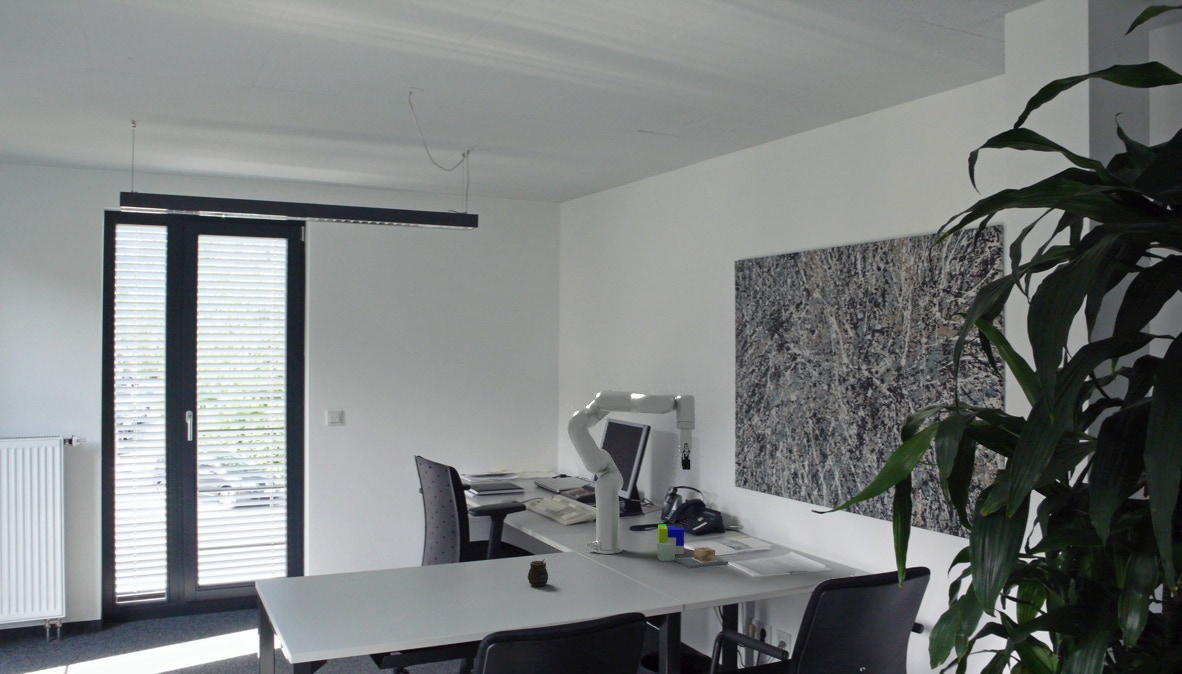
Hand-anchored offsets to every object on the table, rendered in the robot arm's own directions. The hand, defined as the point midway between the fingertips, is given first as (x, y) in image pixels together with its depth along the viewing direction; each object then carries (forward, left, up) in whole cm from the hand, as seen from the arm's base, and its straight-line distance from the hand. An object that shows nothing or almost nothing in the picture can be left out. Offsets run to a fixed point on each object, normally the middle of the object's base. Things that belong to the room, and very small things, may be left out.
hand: (685, 467), depth 353 cm
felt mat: (0, -12, -35) cm, 37 cm away
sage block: (-10, -3, -35) cm, 37 cm away
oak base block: (+2, -12, -34) cm, 36 cm away
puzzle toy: (-2, +9, -36) cm, 37 cm away
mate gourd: (-69, -20, -35) cm, 80 cm away
